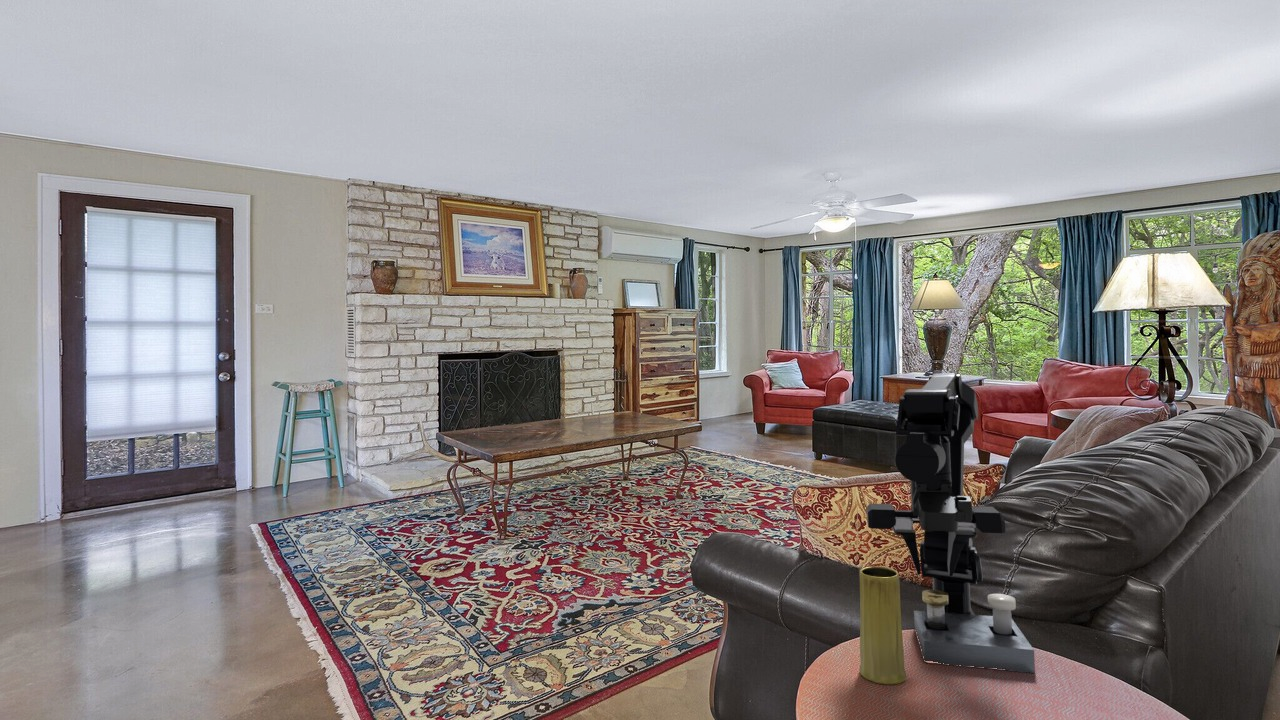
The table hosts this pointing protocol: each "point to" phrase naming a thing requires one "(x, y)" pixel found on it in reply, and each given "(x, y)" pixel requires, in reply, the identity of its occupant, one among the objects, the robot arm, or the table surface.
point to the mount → (974, 643)
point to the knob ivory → (1002, 612)
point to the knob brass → (935, 607)
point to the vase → (881, 626)
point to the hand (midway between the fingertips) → (934, 574)
